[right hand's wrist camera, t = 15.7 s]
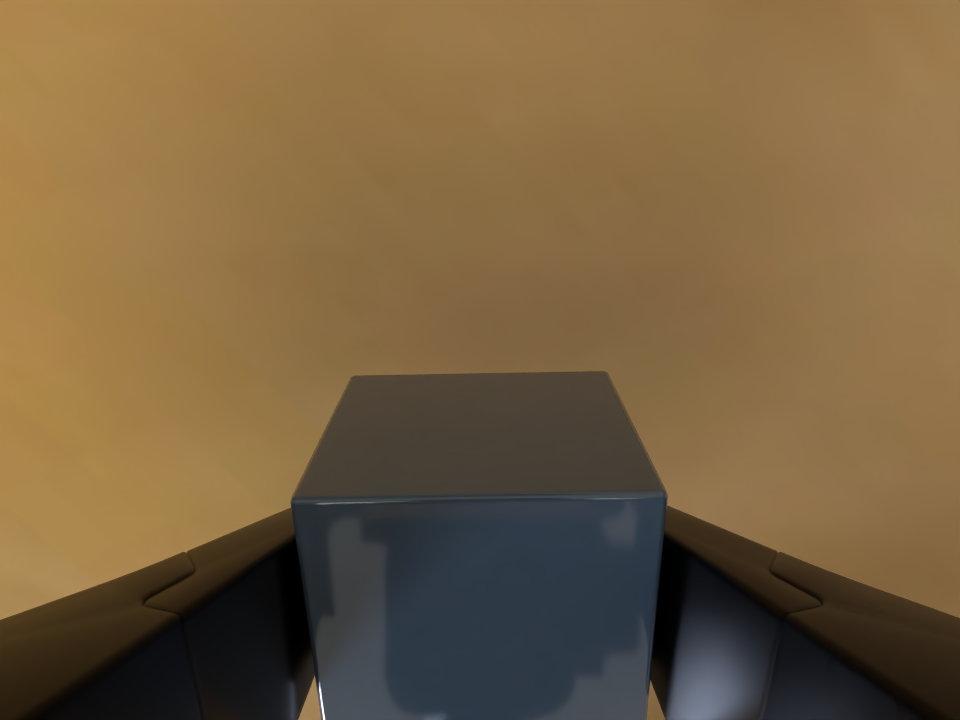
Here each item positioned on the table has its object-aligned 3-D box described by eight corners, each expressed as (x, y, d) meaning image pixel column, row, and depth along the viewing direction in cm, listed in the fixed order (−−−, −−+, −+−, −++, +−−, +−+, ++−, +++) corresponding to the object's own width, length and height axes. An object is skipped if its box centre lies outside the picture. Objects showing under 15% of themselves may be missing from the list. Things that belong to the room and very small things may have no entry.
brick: (369, 576, 13) (325, 764, 9) (349, 373, 12) (286, 499, 8) (597, 573, 13) (644, 759, 9) (608, 369, 12) (670, 493, 8)
